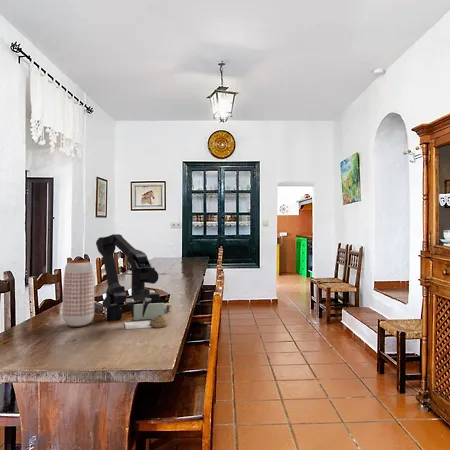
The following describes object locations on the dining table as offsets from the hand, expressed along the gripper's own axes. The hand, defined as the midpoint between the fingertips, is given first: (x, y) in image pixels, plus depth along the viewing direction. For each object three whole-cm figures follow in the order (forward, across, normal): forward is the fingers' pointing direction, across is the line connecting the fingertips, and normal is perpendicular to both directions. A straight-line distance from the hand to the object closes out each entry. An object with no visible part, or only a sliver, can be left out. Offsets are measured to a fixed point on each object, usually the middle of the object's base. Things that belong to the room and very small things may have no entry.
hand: (138, 316), depth 171 cm
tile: (+4, 0, 0) cm, 4 cm away
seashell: (+4, +11, +1) cm, 12 cm away
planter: (+4, -25, +9) cm, 27 cm away
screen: (+4, +6, +10) cm, 13 cm away
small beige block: (+4, +16, +23) cm, 28 cm away
